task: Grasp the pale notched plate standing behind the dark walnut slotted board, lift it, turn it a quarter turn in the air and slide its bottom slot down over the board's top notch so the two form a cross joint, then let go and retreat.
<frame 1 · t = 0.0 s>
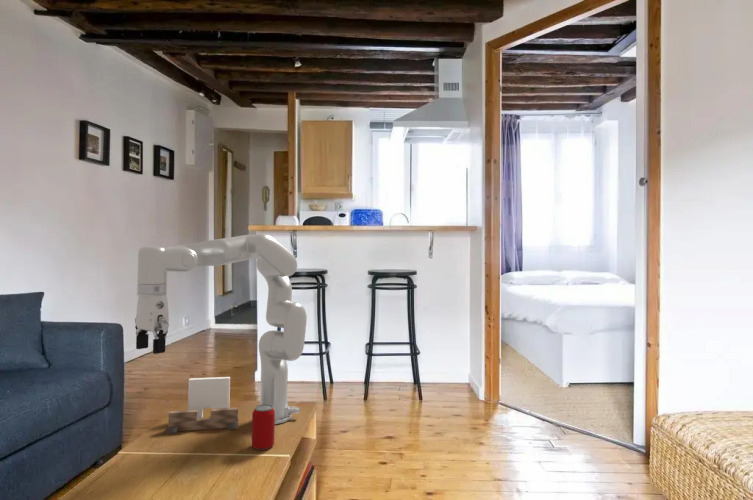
hand: (150, 350, 125), 31 cm above the table, tool pointing down, fingers open, 9 cm apart
pale notched plate: (208, 417, 161), on the table
beverage can: (262, 447, 136), on the table
walnut slotted board: (203, 428, 150), on the table
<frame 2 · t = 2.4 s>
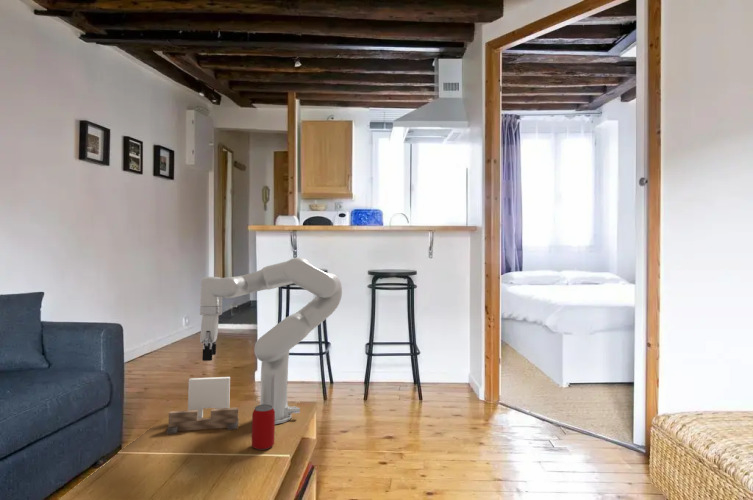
hand: (209, 357, 162), 22 cm above the table, tool pointing down, fingers open, 9 cm apart
nothing on the table moved.
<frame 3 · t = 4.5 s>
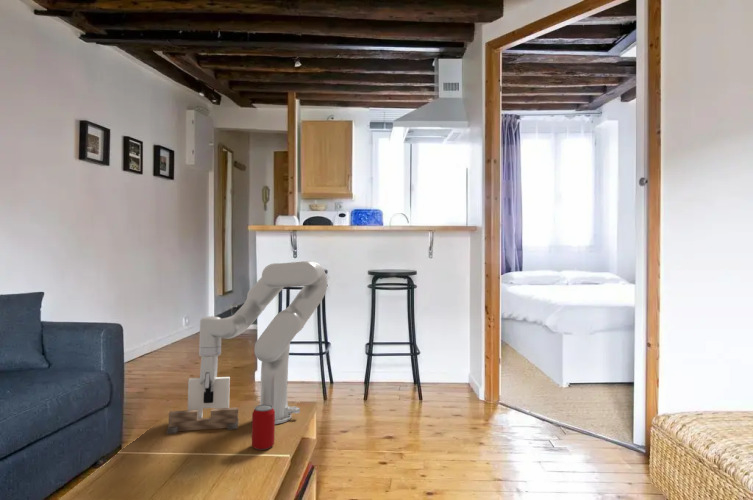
hand: (208, 401, 161), 6 cm above the table, tool pointing down, fingers closed on pale notched plate, 2 cm apart
pale notched plate: (208, 417, 161), on the table, touching gripper
everything else where it was.
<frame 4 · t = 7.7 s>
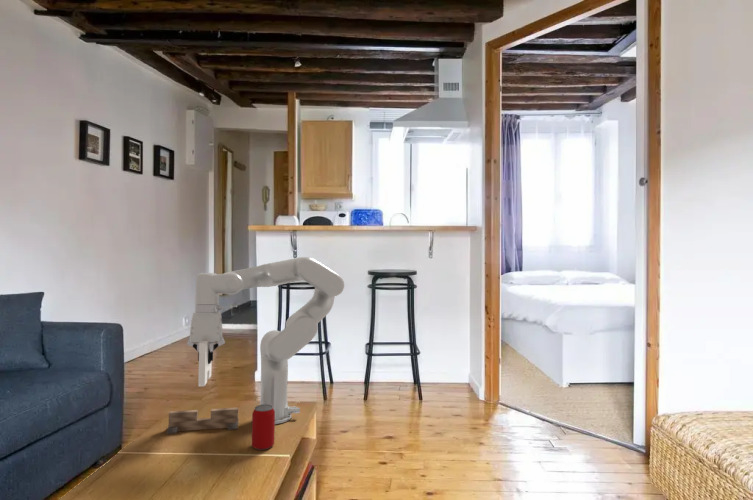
hand: (205, 362, 151), 22 cm above the table, tool pointing down, fingers closed on pale notched plate
pale notched plate: (205, 380, 151), point 16 cm above the table, touching gripper
everything else where it was.
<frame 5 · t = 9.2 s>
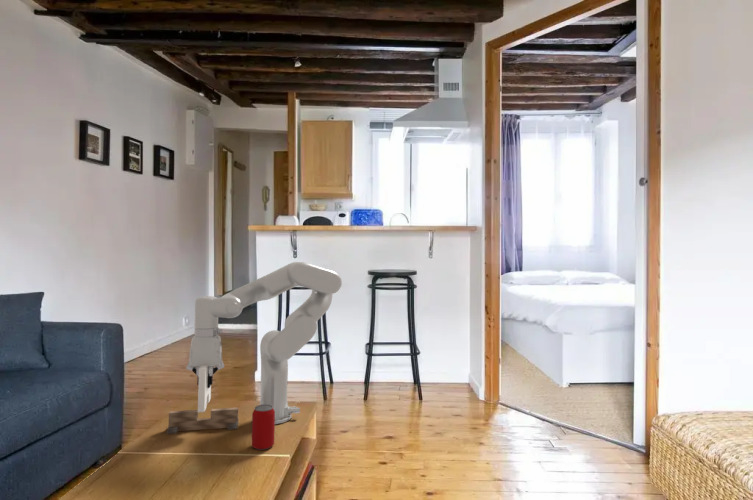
hand: (204, 386, 151), 14 cm above the table, tool pointing down, fingers closed on pale notched plate
pale notched plate: (204, 405, 150), point 8 cm above the table, touching gripper
everything else where it was.
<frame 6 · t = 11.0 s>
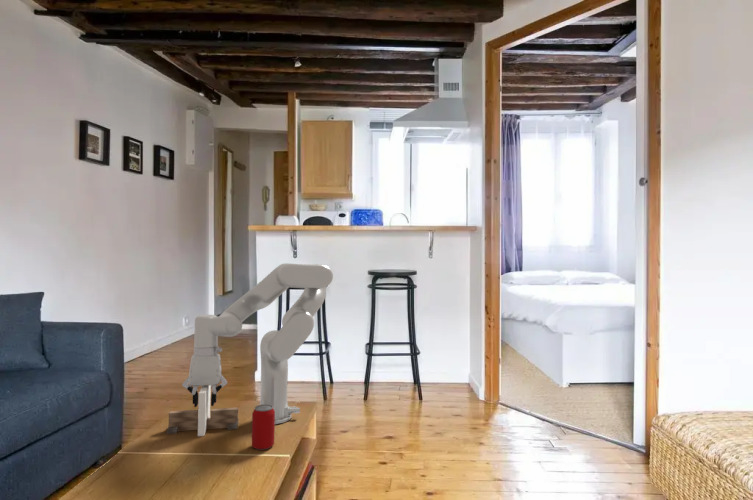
hand: (204, 404, 151), 8 cm above the table, tool pointing down, fingers open, 4 cm apart
pale notched plate: (204, 428, 150), on the table
everything else where it was.
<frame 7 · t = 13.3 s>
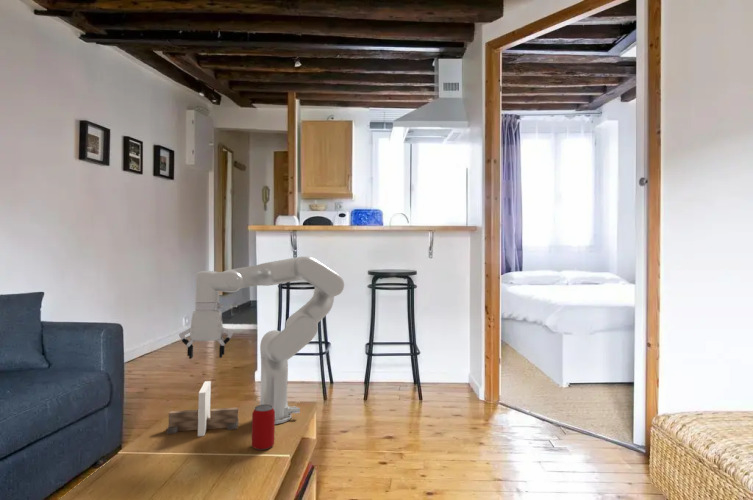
hand: (206, 357, 151), 24 cm above the table, tool pointing down, fingers open, 9 cm apart
nothing on the table moved.
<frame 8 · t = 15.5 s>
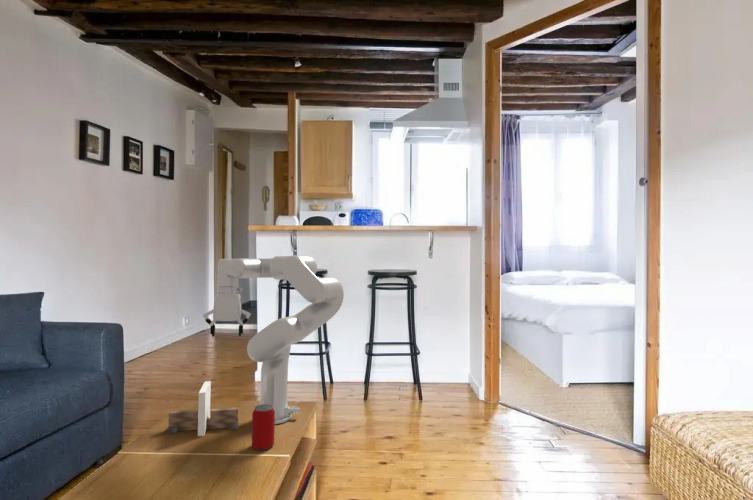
hand: (226, 335, 169), 28 cm above the table, tool pointing down, fingers open, 9 cm apart
nothing on the table moved.
at the end: pale notched plate 0.0 cm off-centre on the walnut slotted board, point 0.0 cm above the walnut slotted board's base; pale notched plate tilted 0°; the gripper is holding nothing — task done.
